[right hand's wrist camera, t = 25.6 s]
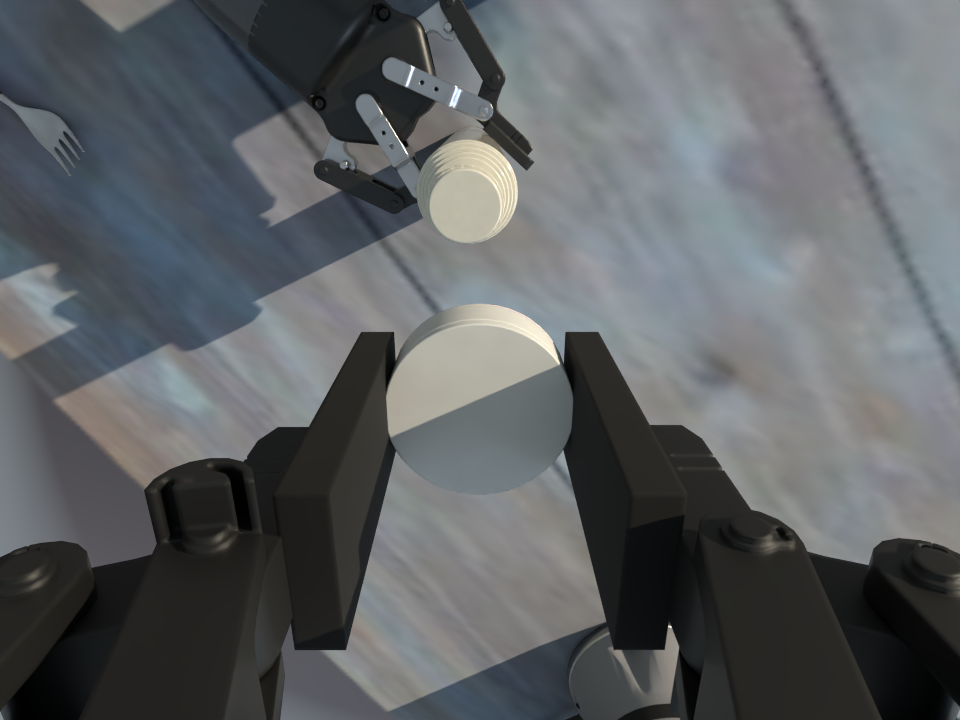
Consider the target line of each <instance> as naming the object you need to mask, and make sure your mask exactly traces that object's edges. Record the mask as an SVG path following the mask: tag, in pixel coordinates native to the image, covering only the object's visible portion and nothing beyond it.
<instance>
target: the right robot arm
mask: <svg viewBox="0 0 960 720" xmlns="http://www.w3.org/2000/svg"><path fill="white" fill-rule="evenodd" d="M395 362H396V360H395V342H394V332H361V334H360V335H359V337H358V339H357V341H356V343H355V344H354V346H353V348H352V350H351V352H350V354H349V355H348V357H347V359H346V361H345V363H344V364H343V366H342V368H341V370H340V372H339V373H338V375H337V377H336V379H335V381H334V382H333V384H332V386H331V388H330V390H329V392H328V393H327V395H326V397H325V399H324V401H323V402H322V404H321V406H320V408H319V410H318V411H317V413H316V415H315V417H314V419H313V421H312V422H311V424H310V426H309V427H278V428H276V429H275V430H273V431H272V432H270V433H269V434H267V435H266V436H264V437H263V438H261V439H260V440H258V441H257V443H256V444H255V446H254V447H253V449H252V450H251V452H250V453H249V454H248V456H247V459H245V460H244V462H242V461H238V460H234V459H230V458H209V459H204V460H198V461H193V462H189V463H186V464H183V465H180V466H178V467H175V468H172V469H170V470H168V471H167V472H165V473H163V474H162V475H160V476H158V477H157V478H155V479H154V480H153V481H152V482H151V483H150V484H149V485H148V486H147V488H146V489H145V490H144V492H145V496H146V500H147V504H148V509H149V513H150V517H151V521H152V525H153V529H154V533H155V538H156V542H157V545H156V547H155V549H154V551H153V554H152V555H148V556H145V557H141V558H137V559H133V560H128V561H123V562H118V563H113V564H108V565H104V566H99V567H94V568H91V565H90V561H89V558H88V554H87V551H86V550H84V549H83V548H82V547H81V546H80V545H78V544H75V543H70V542H64V541H56V542H46V543H38V544H34V545H30V546H28V547H27V546H25V547H22V548H19V549H16V550H14V551H12V552H11V553H8V554H6V555H4V556H2V557H0V711H1V714H2V716H3V719H4V720H280V716H281V707H282V698H283V689H284V680H285V671H284V664H283V658H282V652H281V647H282V645H283V642H284V639H285V637H286V634H287V631H288V629H289V626H290V623H291V627H292V634H293V641H294V647H295V650H346V647H347V644H348V640H349V636H350V632H351V628H352V624H353V620H354V616H355V612H356V608H357V604H358V600H359V596H360V592H361V588H362V584H363V580H364V576H365V572H366V568H367V564H368V560H369V556H370V552H371V548H372V544H373V540H374V536H375V532H376V528H377V524H378V520H379V516H380V512H381V508H382V504H383V500H384V496H385V492H386V488H387V484H388V480H389V476H390V472H391V468H392V464H393V460H394V456H395V452H396V450H395V448H394V446H393V444H392V442H391V440H390V437H389V433H388V418H387V402H386V390H387V386H388V383H389V380H390V377H391V374H392V371H393V368H394V365H395ZM564 367H565V370H566V373H567V376H568V379H569V382H570V384H571V387H572V392H573V412H572V427H571V433H570V436H569V438H568V441H567V443H566V445H565V447H564V449H563V450H564V454H565V458H566V462H567V466H568V470H569V474H570V478H571V482H572V486H573V490H574V494H575V498H576V502H577V506H578V510H579V514H580V518H581V522H582V526H583V530H584V534H585V538H586V542H587V546H588V550H589V554H590V557H591V561H592V565H593V569H594V573H595V577H596V581H597V585H598V589H599V593H600V597H601V601H602V605H603V609H604V613H605V617H606V621H607V625H604V626H602V627H601V628H599V629H597V630H595V631H594V632H592V633H591V634H590V635H588V636H587V637H586V638H585V639H584V640H583V641H582V642H581V643H580V644H579V645H578V647H577V648H576V649H575V651H574V653H573V655H572V657H571V659H570V662H569V666H568V681H569V688H570V693H571V696H572V699H573V702H574V705H575V707H576V709H577V711H578V713H579V714H578V715H576V716H574V717H571V718H569V719H567V720H957V719H956V717H957V715H958V712H959V710H960V554H958V553H956V552H954V551H952V550H950V549H948V548H946V547H944V546H941V545H938V544H935V543H934V544H932V543H931V542H926V541H921V540H912V539H902V538H897V539H892V540H886V541H882V542H881V543H880V544H879V545H877V546H876V547H875V548H874V549H873V552H872V556H871V559H870V563H869V565H865V564H860V563H855V562H850V561H845V560H840V559H835V558H830V557H826V556H822V555H818V554H814V553H810V552H807V550H806V548H805V546H804V543H803V542H802V541H801V539H800V538H799V537H798V535H797V534H796V533H795V531H794V530H792V529H791V528H790V527H788V526H787V525H785V524H784V523H783V522H781V521H780V520H778V519H776V518H773V517H771V516H769V515H766V514H764V513H762V512H758V511H754V510H751V509H750V507H749V506H748V505H747V503H746V502H745V500H744V499H743V497H742V496H741V494H740V493H739V492H738V490H737V489H736V487H735V486H734V484H733V483H732V481H731V480H730V479H729V477H728V476H727V474H726V473H725V471H722V467H721V466H720V464H719V463H718V461H717V460H716V458H715V457H713V454H712V453H711V451H710V450H709V448H708V447H707V445H706V444H705V442H704V441H703V440H702V438H700V437H699V436H697V435H696V434H694V433H693V432H691V431H690V430H688V429H687V428H685V427H684V426H682V425H649V423H648V421H647V419H646V418H645V416H644V414H643V412H642V410H641V409H640V407H639V405H638V403H637V401H636V400H635V398H634V396H633V394H632V392H631V390H630V389H629V387H628V385H627V383H626V381H625V380H624V378H623V376H622V374H621V372H620V371H619V369H618V367H617V365H616V363H615V362H614V360H613V358H612V356H611V354H610V352H609V351H608V349H607V347H606V345H605V343H604V342H603V340H602V338H601V336H600V334H599V333H598V332H566V334H565V352H564Z"/></svg>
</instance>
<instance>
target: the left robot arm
mask: <svg viewBox="0 0 960 720" xmlns="http://www.w3.org/2000/svg"><path fill="white" fill-rule="evenodd" d="M194 1H195V2H196V4H197V5H198V6H199V7H200V8H201V9H202V10H203V11H204V13H205V14H206V15H207V16H208V17H209V18H210V19H211V20H212V21H213V22H214V23H215V24H216V25H217V26H219V27H220V28H221V29H222V30H223V31H224V32H225V33H227V34H228V35H229V36H230V37H231V38H232V39H233V40H235V41H236V42H237V43H238V44H239V45H240V46H241V47H243V48H244V49H245V50H246V51H247V52H248V53H250V54H251V55H252V56H253V57H254V58H255V59H256V60H258V61H259V62H260V63H261V64H262V65H263V66H265V67H266V68H267V69H268V70H269V71H270V72H272V73H273V74H274V75H275V76H276V77H277V78H278V79H280V80H281V81H282V82H283V83H284V84H285V85H287V86H288V87H289V88H290V89H291V90H292V91H293V92H295V93H296V94H297V95H298V96H299V97H300V98H302V99H303V100H304V101H305V102H306V103H307V104H308V105H310V106H311V107H312V108H313V109H314V110H315V111H316V112H317V113H318V114H319V115H320V116H321V118H322V119H323V121H324V123H325V126H326V128H327V130H328V132H329V133H330V135H331V136H330V139H329V142H328V144H327V147H326V150H325V153H324V155H323V158H322V160H321V161H318V162H317V163H316V164H315V166H314V173H315V175H316V177H317V178H318V179H320V180H322V181H324V182H326V183H329V184H331V185H333V186H335V187H337V188H339V189H341V190H343V191H345V192H348V193H350V194H352V195H354V196H356V197H358V198H360V199H362V200H364V201H366V202H369V203H371V204H373V205H375V206H377V207H379V208H381V209H383V210H385V211H388V212H390V213H393V214H396V213H399V212H400V211H401V210H403V209H405V208H406V207H408V206H410V205H411V204H414V203H418V202H417V194H416V188H417V181H418V176H419V174H420V171H421V169H422V166H421V164H420V162H419V161H418V159H417V157H416V154H415V152H414V151H413V149H412V147H411V146H410V144H409V142H408V141H407V139H408V137H409V136H410V135H411V133H412V132H413V131H414V129H415V126H416V124H417V121H418V119H419V118H420V117H421V116H423V115H424V114H425V113H427V112H428V111H429V110H430V109H431V108H432V106H433V105H434V104H435V103H436V101H437V102H440V103H442V104H444V105H446V106H449V107H451V108H453V109H455V110H458V111H460V112H462V113H464V114H466V115H469V116H471V117H473V118H475V119H476V120H477V121H479V122H480V123H481V124H482V125H483V126H484V128H483V130H484V131H485V132H486V133H487V134H488V135H489V136H490V137H491V138H492V139H494V140H495V141H496V142H497V143H498V144H499V145H500V146H501V147H502V148H503V149H504V150H505V151H506V152H507V153H508V154H509V155H510V156H511V157H513V158H514V159H515V160H516V161H517V162H518V163H519V164H520V165H521V166H522V167H523V168H524V169H525V170H528V169H529V168H530V167H531V165H532V164H533V163H534V162H533V161H532V160H531V159H530V158H529V157H528V154H529V153H530V152H531V151H532V150H533V149H532V147H531V144H530V142H529V141H528V140H527V139H526V138H525V137H524V136H523V135H522V134H521V133H520V132H519V131H518V130H517V129H516V128H515V127H514V126H512V125H511V124H510V123H509V122H508V121H507V120H506V119H505V118H504V117H503V116H502V115H501V114H500V113H499V111H498V108H497V100H498V97H499V94H500V92H501V89H502V86H503V85H504V83H505V74H504V72H503V70H502V69H501V67H500V65H499V64H498V62H497V60H496V58H495V57H494V55H493V53H492V52H491V50H490V48H489V46H488V45H487V43H486V41H485V40H484V38H483V36H482V34H481V33H480V31H479V29H478V27H477V26H476V24H475V22H474V21H473V19H472V17H471V15H470V14H469V12H468V10H467V9H466V7H465V5H464V3H463V2H462V0H439V1H438V2H437V3H436V4H434V5H433V6H432V7H430V8H429V9H428V10H426V11H425V12H424V13H423V14H421V15H420V16H419V17H417V18H415V17H413V16H411V15H407V14H403V13H400V12H398V11H396V10H395V9H393V8H392V7H391V6H390V5H389V4H388V3H387V2H386V1H385V0H194ZM430 32H436V33H438V34H439V35H440V36H441V37H442V38H443V39H444V40H446V41H453V40H455V39H456V38H458V40H459V41H460V43H461V45H462V46H463V48H464V50H465V51H466V53H467V55H468V56H469V58H470V60H471V61H472V63H473V65H474V66H475V68H476V70H477V72H478V73H479V75H480V77H481V78H482V80H483V82H482V85H481V88H480V91H479V94H478V96H476V95H474V94H472V93H470V92H467V91H465V90H463V89H461V88H459V87H457V86H455V85H453V84H450V83H448V82H446V81H444V80H442V79H440V78H437V76H436V72H435V68H434V64H433V59H432V55H431V51H430V46H429V42H428V38H427V34H428V33H430ZM347 142H353V143H363V144H373V145H380V147H381V148H382V150H383V151H384V153H385V155H386V156H387V158H388V160H389V161H390V163H391V164H392V166H393V167H394V168H395V169H396V170H397V172H398V173H399V175H400V177H401V178H402V180H403V181H404V183H405V185H404V186H402V187H400V188H399V189H397V188H395V187H393V186H391V185H389V184H387V183H385V182H383V181H381V180H379V179H377V178H375V177H372V176H370V175H368V174H366V173H364V172H362V171H360V170H358V169H357V165H358V163H357V160H356V158H355V157H354V156H353V155H351V154H350V153H349V152H348V150H347Z"/></svg>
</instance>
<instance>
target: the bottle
mask: <svg viewBox="0 0 960 720" xmlns="http://www.w3.org/2000/svg"><path fill="white" fill-rule="evenodd" d="M416 194H417V202H418V206H419V209H420V212H421V214H422V216H423V218H424V220H425V221H426V223H427V224H428V225H429V226H430V228H431V229H432V230H433V231H434V232H436V233H437V234H438V235H440V236H441V237H443V238H445V239H447V240H449V241H452V242H456V243H459V244H473V243H479V242H483V241H485V240H488V239H490V238H492V237H493V236H495V235H496V234H498V233H499V232H500V231H501V230H502V229H503V228H504V227H505V226H506V225H507V223H508V222H509V220H510V219H511V217H512V215H513V213H514V210H515V207H516V203H517V197H518V189H517V181H516V177H515V174H514V172H513V169H512V167H511V166H510V164H509V162H508V160H507V158H506V156H505V155H504V153H503V151H502V149H501V147H500V146H499V144H498V143H497V142H496V141H495V140H494V139H492V138H491V137H490V136H489V135H488V134H487V133H486V132H485V131H484V130H483V129H480V128H476V127H468V128H463V129H460V130H458V131H456V132H455V133H454V134H452V135H451V136H450V137H449V138H448V139H447V140H446V141H445V142H444V143H443V144H442V145H441V146H440V147H439V148H438V149H436V150H435V151H434V152H433V153H432V154H431V155H430V157H429V158H428V159H427V160H426V162H425V163H424V165H423V167H422V169H421V171H420V174H419V176H418V181H417V188H416Z"/></svg>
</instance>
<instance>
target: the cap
mask: <svg viewBox="0 0 960 720" xmlns="http://www.w3.org/2000/svg"><path fill="white" fill-rule="evenodd" d="M386 402H387V418H388V433H389V437H390V440H391V442H392V444H393V446H394V448H395V450H396V451H397V452H398V454H399V455H400V457H401V458H402V460H403V461H404V462H405V463H406V464H407V465H408V466H409V467H410V468H411V469H412V470H413V471H414V472H416V473H417V474H418V475H419V476H421V477H422V478H424V479H425V480H427V481H429V482H431V483H433V484H435V485H437V486H439V487H441V488H444V489H447V490H450V491H454V492H458V493H464V494H476V495H485V494H495V493H500V492H505V491H508V490H511V489H514V488H517V487H520V486H522V485H524V484H526V483H528V482H530V481H531V480H533V479H535V478H536V477H538V476H539V475H540V474H542V473H543V472H544V471H545V470H547V469H548V468H549V467H550V466H551V465H552V463H553V462H554V461H555V460H556V459H557V457H558V456H559V455H560V453H561V452H562V450H563V449H564V447H565V445H566V443H567V441H568V438H569V436H570V433H571V427H572V412H573V392H572V387H571V384H570V382H569V379H568V376H567V373H566V370H565V367H564V364H563V361H562V358H561V356H560V353H559V351H558V349H557V347H556V346H555V344H554V342H553V341H552V339H551V338H550V337H549V335H548V334H547V333H546V332H545V331H544V330H543V329H542V328H541V327H540V326H539V325H538V324H536V323H535V322H534V321H532V320H531V319H529V318H528V317H526V316H524V315H523V314H521V313H519V312H516V311H514V310H511V309H508V308H505V307H501V306H497V305H490V304H469V305H462V306H458V307H453V308H450V309H447V310H445V311H442V312H440V313H438V314H436V315H434V316H432V317H431V318H429V319H428V320H426V321H425V322H424V323H422V324H421V325H420V326H419V327H418V328H417V329H416V330H415V331H413V333H412V334H411V335H410V336H409V338H408V339H407V340H406V342H405V343H404V345H403V347H402V348H401V350H400V352H399V355H398V357H397V360H396V362H395V365H394V368H393V371H392V374H391V377H390V380H389V383H388V386H387V390H386Z"/></svg>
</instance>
